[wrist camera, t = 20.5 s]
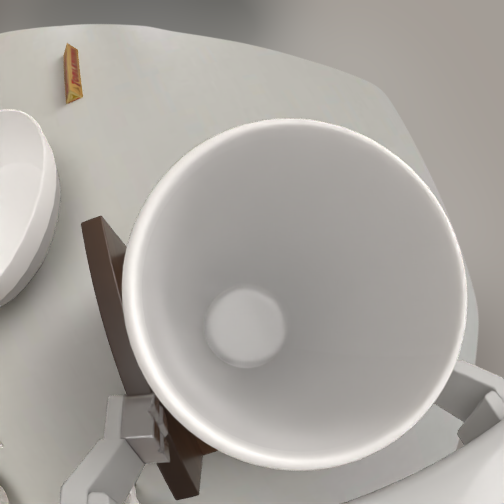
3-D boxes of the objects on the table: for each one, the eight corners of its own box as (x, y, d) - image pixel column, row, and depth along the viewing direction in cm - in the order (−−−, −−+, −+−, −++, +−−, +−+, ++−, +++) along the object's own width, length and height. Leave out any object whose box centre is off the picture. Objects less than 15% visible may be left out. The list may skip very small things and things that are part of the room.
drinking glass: (309, 364, 19) (498, 381, 5) (204, 393, 18) (179, 519, 4) (280, 263, 21) (400, 106, 7) (177, 288, 20) (97, 144, 5)
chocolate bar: (78, 50, 34) (75, 39, 32) (84, 97, 32) (79, 85, 30) (63, 57, 34) (59, 46, 32) (65, 106, 31) (60, 94, 29)
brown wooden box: (341, 211, 30) (408, 135, 18) (396, 344, 27) (496, 334, 15) (137, 278, 26) (80, 222, 14) (192, 432, 23) (175, 501, 11)
